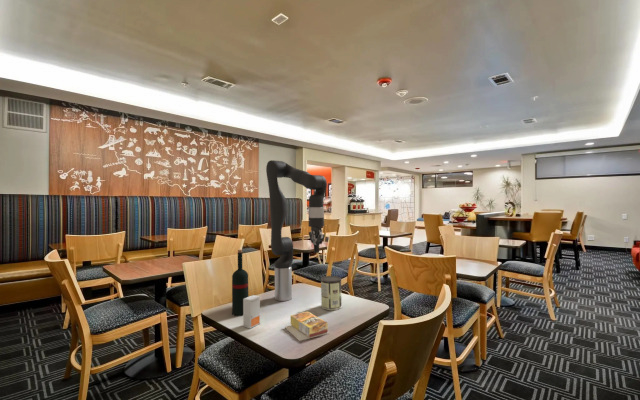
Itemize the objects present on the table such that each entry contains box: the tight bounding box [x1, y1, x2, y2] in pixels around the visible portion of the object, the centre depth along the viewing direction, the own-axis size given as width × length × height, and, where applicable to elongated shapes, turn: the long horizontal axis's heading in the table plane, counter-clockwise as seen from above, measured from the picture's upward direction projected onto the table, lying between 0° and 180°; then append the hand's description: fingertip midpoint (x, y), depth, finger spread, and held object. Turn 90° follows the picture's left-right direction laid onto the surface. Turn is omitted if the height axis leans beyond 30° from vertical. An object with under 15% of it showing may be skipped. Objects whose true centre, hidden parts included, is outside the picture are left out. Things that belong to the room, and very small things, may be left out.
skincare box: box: [242, 295, 261, 329], centre depth 130 cm, size 6×4×12 cm
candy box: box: [290, 311, 329, 339], centre depth 125 cm, size 9×4×15 cm
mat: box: [284, 324, 330, 342], centre depth 124 cm, size 14×13×1 cm
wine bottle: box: [231, 249, 249, 317], centre depth 146 cm, size 8×10×30 cm
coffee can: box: [320, 275, 343, 311], centre depth 152 cm, size 10×10×14 cm
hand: (316, 252), depth 146 cm, fingers closed
